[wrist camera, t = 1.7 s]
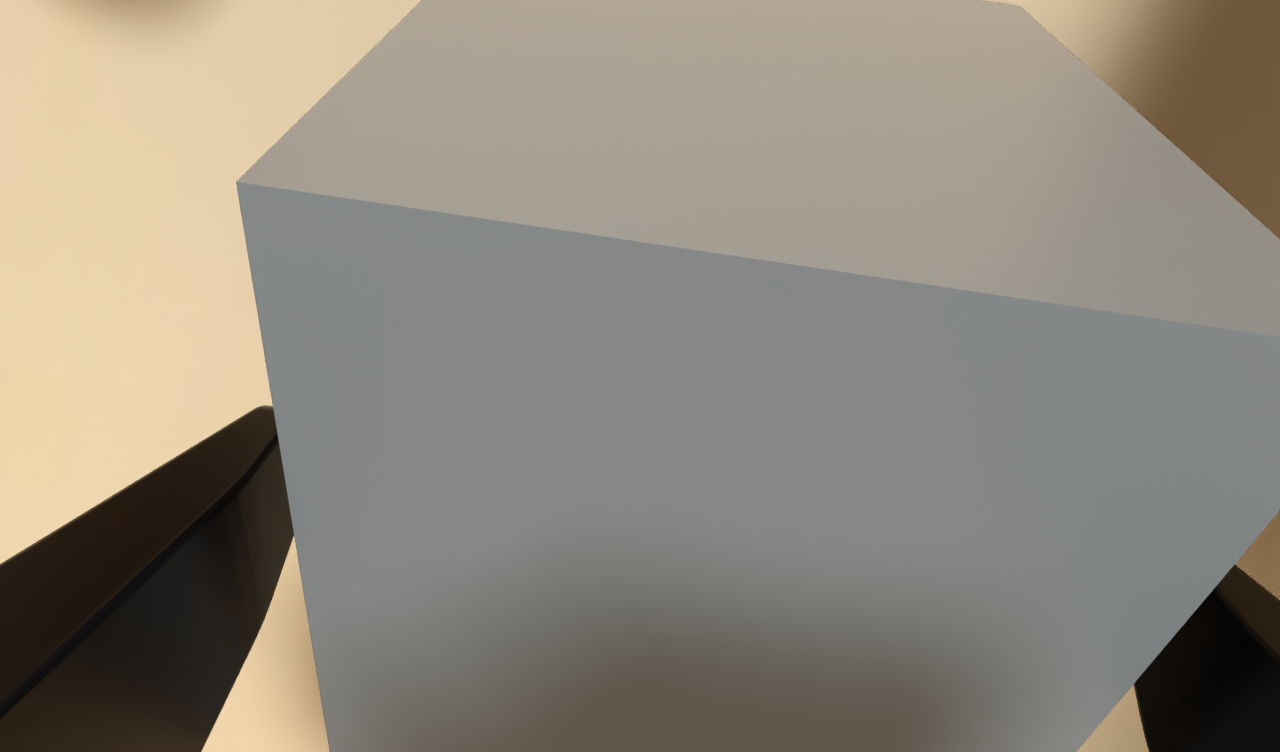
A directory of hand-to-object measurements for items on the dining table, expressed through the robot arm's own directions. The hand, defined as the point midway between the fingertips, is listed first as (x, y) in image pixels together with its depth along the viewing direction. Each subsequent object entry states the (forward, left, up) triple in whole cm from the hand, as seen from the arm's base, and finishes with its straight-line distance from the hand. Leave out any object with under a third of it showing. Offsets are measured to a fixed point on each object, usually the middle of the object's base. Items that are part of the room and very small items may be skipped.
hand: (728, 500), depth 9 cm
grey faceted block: (0, 0, -7) cm, 7 cm away
